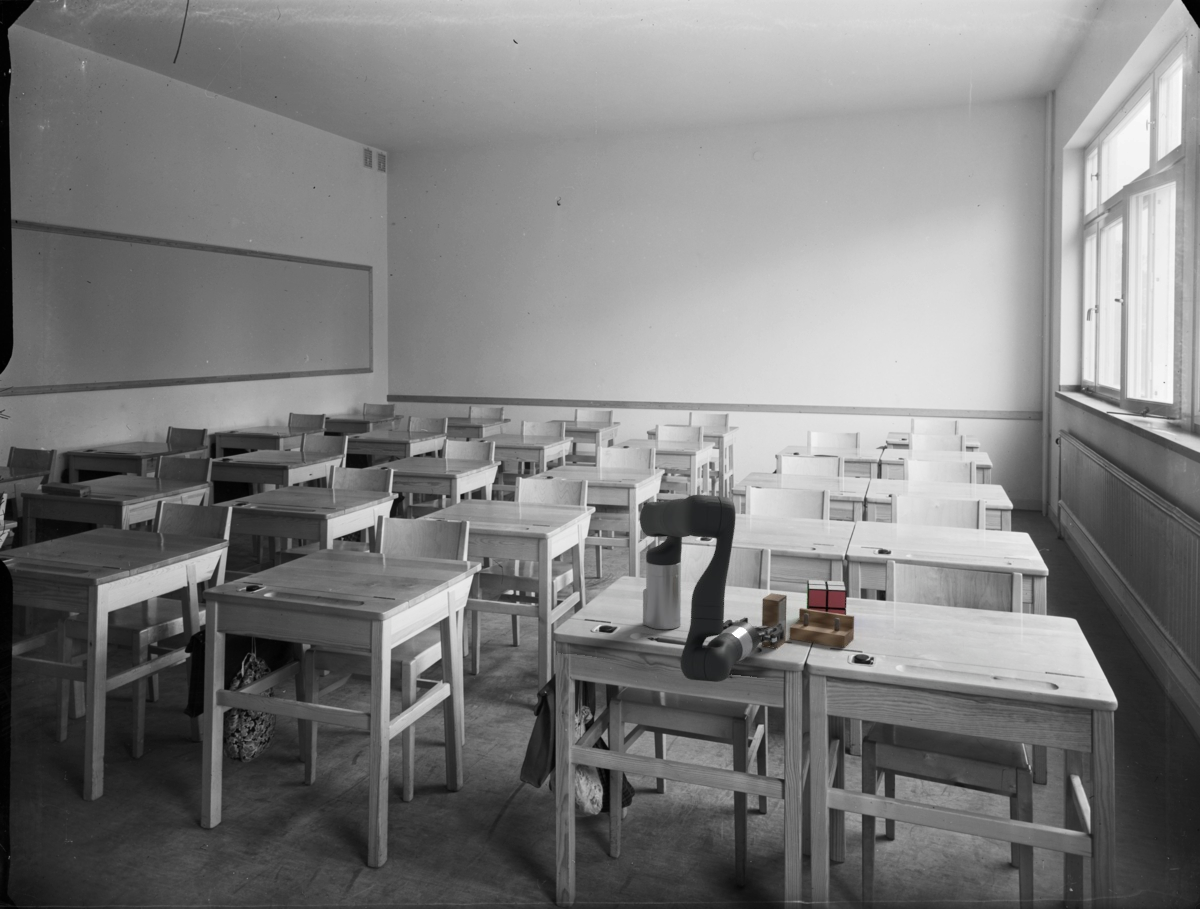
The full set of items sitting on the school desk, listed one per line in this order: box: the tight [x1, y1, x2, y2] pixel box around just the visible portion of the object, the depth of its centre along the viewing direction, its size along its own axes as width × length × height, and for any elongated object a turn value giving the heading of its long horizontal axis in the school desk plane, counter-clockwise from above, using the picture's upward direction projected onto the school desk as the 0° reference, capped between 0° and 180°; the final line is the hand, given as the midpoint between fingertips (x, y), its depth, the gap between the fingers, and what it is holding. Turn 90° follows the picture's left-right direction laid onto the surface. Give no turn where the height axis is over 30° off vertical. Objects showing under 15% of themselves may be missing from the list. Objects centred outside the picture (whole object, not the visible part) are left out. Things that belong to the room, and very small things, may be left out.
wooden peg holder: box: [789, 607, 855, 649], centre depth 233 cm, size 14×8×6 cm, turn 59°
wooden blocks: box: [761, 593, 788, 649], centre depth 229 cm, size 4×6×12 cm, turn 149°
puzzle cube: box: [806, 579, 848, 615], centre depth 248 cm, size 10×10×10 cm
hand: (762, 624), depth 222 cm, fingers open, 8 cm apart
